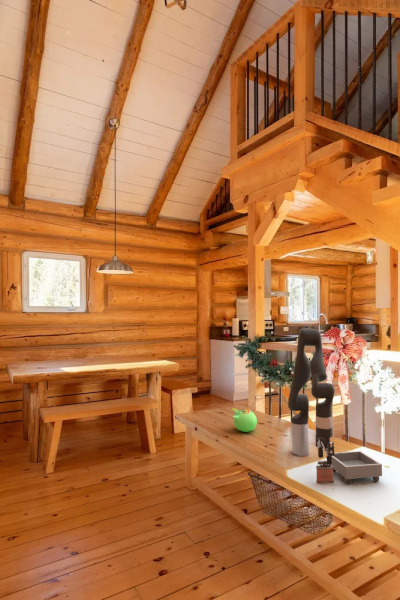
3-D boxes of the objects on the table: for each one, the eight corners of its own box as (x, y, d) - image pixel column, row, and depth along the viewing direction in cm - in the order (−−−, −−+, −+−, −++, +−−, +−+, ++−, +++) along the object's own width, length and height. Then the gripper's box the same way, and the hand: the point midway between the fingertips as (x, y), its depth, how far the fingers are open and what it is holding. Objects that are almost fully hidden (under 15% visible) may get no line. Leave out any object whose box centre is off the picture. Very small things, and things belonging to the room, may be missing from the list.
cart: (327, 470, 198) (327, 453, 198) (360, 467, 200) (360, 450, 201) (346, 485, 180) (346, 466, 180) (382, 482, 183) (381, 464, 183)
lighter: (332, 480, 185) (331, 459, 186) (334, 483, 182) (334, 462, 182) (315, 481, 185) (314, 459, 185) (317, 484, 182) (317, 462, 182)
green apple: (258, 434, 256) (258, 412, 256) (232, 435, 256) (232, 412, 257) (255, 426, 274) (255, 405, 274) (231, 427, 274) (231, 406, 275)
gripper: (309, 422, 191) (310, 456, 190) (323, 430, 177) (324, 467, 176) (324, 421, 192) (325, 455, 191) (338, 429, 178) (340, 465, 177)
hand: (324, 460), depth 184 cm, fingers open, 8 cm apart
